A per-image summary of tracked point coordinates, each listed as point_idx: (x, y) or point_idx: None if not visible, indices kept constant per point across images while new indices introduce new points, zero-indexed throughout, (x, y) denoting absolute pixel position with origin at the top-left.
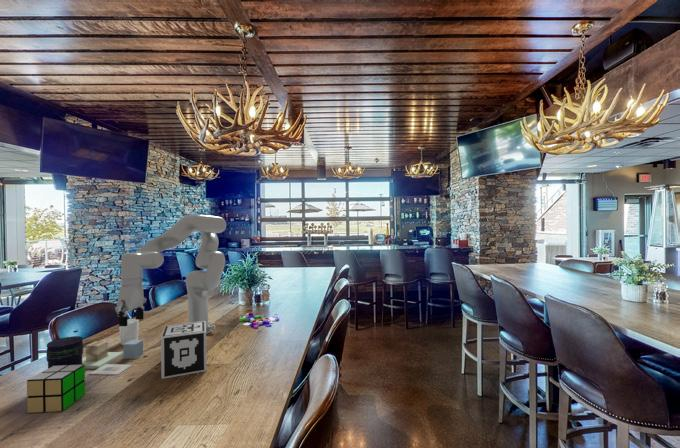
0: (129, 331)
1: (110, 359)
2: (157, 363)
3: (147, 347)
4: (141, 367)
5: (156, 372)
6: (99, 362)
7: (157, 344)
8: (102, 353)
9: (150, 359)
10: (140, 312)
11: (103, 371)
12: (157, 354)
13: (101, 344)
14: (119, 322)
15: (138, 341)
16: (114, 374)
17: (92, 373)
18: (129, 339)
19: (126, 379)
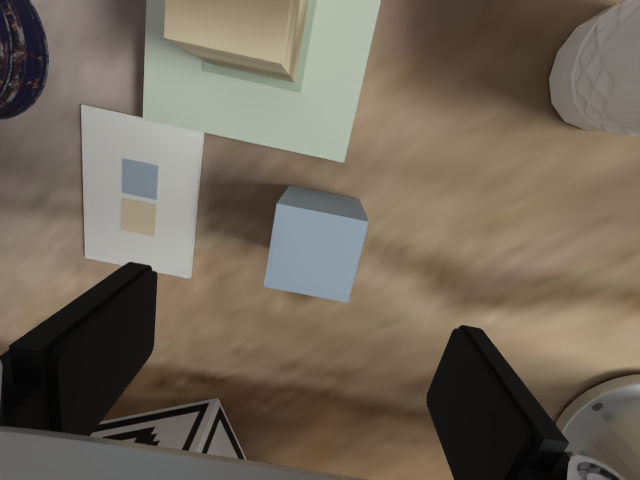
0: (626, 92)
1: (233, 137)
2: (210, 371)
3: (446, 246)
4: (169, 323)
5: (121, 396)
6: (191, 89)
7: (483, 284)
8: (242, 66)
9: (259, 327)
10: (469, 475)
11: (110, 171)
12: (321, 335)
13: (208, 48)
14: (102, 289)
15: (321, 285)
16: (85, 243)
17: (83, 123)
18: (575, 96)
19: (52, 313)
